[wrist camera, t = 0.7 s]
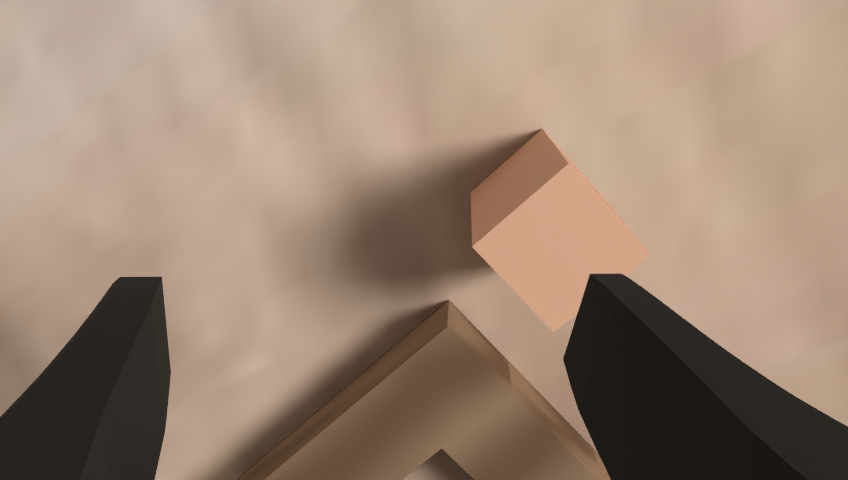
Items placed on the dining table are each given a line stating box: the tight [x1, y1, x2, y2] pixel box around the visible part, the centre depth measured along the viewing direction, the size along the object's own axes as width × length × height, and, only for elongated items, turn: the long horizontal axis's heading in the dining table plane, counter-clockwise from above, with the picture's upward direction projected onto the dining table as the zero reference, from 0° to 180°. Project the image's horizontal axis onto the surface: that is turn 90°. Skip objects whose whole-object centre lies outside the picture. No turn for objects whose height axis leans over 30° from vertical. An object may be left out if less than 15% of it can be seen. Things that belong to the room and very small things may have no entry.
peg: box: [470, 129, 650, 332], centre depth 27 cm, size 4×4×8 cm
